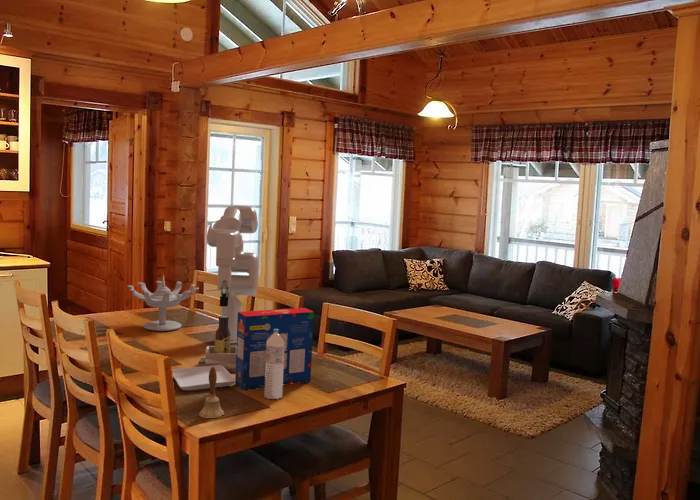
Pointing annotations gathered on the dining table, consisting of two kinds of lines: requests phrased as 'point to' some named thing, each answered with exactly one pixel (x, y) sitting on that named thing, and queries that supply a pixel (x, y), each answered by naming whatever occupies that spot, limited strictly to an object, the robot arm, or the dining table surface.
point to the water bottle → (274, 366)
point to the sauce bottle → (222, 336)
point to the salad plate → (201, 377)
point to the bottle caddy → (220, 359)
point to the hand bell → (212, 399)
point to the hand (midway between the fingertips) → (224, 303)
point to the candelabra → (162, 303)
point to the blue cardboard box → (252, 345)
